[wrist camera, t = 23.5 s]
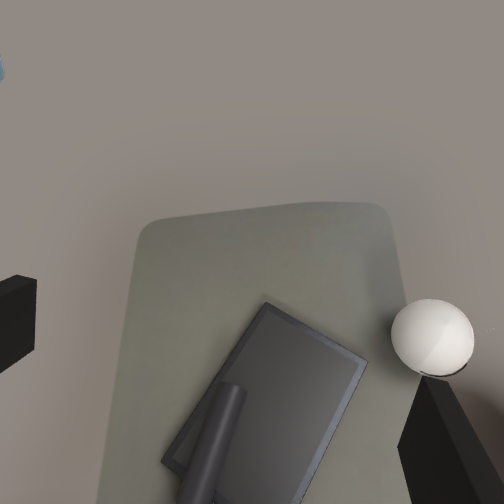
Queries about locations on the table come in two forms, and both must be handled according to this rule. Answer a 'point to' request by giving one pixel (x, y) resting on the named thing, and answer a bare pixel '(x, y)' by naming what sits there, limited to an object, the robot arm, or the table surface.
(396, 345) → the white sphere
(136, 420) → the table surface
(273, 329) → the tablet
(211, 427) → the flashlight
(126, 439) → the table surface
